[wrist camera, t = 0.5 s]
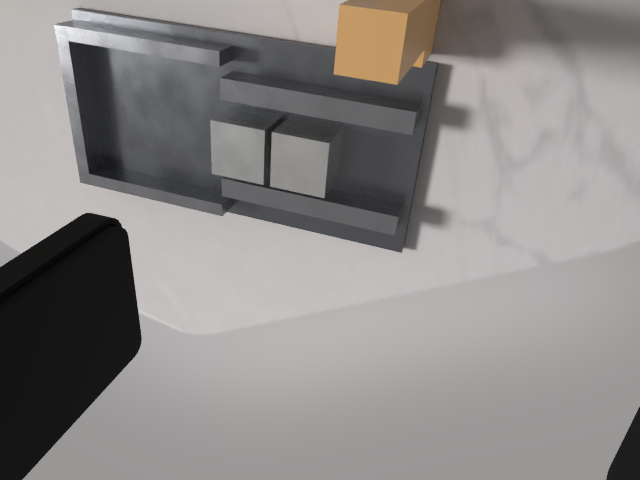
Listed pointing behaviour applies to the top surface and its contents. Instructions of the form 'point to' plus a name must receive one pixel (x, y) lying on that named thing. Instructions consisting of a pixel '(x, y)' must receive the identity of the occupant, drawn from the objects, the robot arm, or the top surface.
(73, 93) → the slot board
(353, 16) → the tan stepped beam
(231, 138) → the chip
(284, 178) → the grey cube
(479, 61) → the top surface
